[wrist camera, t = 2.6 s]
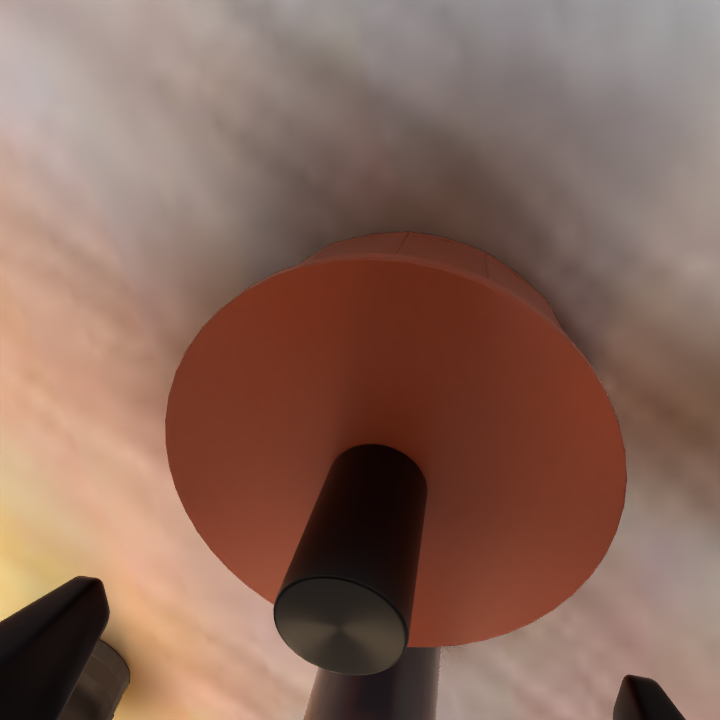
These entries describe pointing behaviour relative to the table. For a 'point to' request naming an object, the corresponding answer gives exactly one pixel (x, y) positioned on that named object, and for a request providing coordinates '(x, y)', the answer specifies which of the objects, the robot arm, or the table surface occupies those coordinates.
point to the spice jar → (380, 691)
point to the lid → (394, 456)
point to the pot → (441, 259)
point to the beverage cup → (98, 687)
